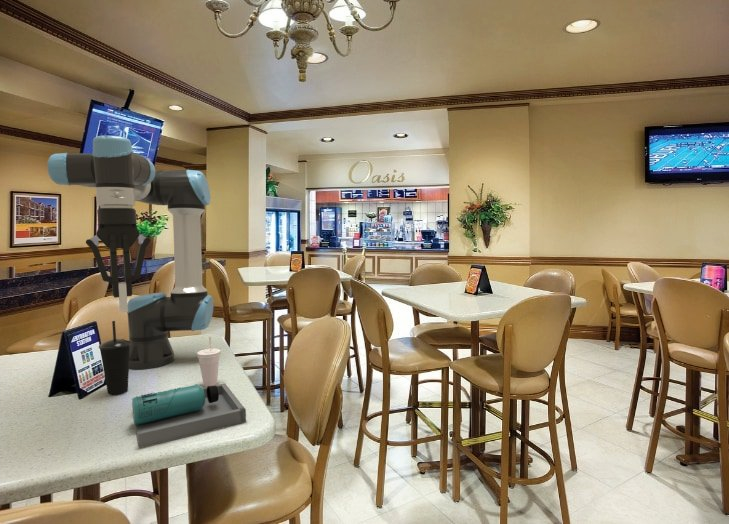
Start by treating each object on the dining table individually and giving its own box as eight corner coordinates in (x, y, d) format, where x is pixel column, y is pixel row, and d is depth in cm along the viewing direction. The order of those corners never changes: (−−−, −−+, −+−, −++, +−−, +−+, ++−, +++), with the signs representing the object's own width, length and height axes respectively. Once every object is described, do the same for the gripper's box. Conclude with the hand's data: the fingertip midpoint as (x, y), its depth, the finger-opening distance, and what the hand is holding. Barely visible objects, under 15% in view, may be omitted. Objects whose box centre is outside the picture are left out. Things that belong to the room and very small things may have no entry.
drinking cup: (109, 399, 113) (104, 325, 112) (97, 393, 118) (92, 322, 116) (138, 390, 119) (134, 320, 118) (126, 385, 124) (121, 317, 122)
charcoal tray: (133, 413, 105) (133, 401, 104) (225, 394, 116) (225, 383, 116) (139, 448, 88) (138, 434, 87) (246, 421, 99) (245, 409, 99)
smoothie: (214, 389, 120) (212, 340, 119) (193, 387, 121) (191, 339, 120) (226, 381, 126) (224, 334, 125) (206, 379, 127) (204, 333, 126)
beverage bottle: (127, 433, 96) (218, 411, 107) (128, 420, 92) (222, 398, 103) (124, 406, 99) (212, 387, 111) (125, 392, 95) (216, 375, 106)
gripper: (81, 206, 89) (90, 317, 91) (151, 207, 96) (157, 310, 99) (82, 207, 95) (89, 311, 98) (146, 208, 102) (152, 304, 105)
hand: (123, 310), depth 98 cm, fingers closed
